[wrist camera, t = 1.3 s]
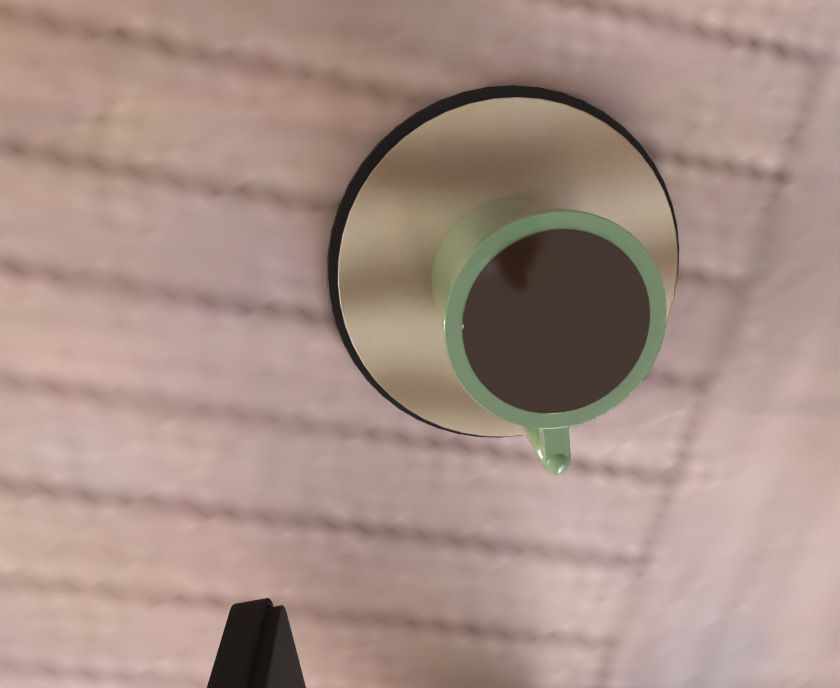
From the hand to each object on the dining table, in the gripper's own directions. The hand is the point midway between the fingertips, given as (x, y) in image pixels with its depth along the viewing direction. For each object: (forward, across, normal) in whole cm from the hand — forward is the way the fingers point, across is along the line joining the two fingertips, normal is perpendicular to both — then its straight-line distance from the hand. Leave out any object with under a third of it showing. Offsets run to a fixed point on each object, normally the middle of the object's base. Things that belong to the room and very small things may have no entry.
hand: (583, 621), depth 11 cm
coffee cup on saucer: (+22, -3, -1) cm, 22 cm away
